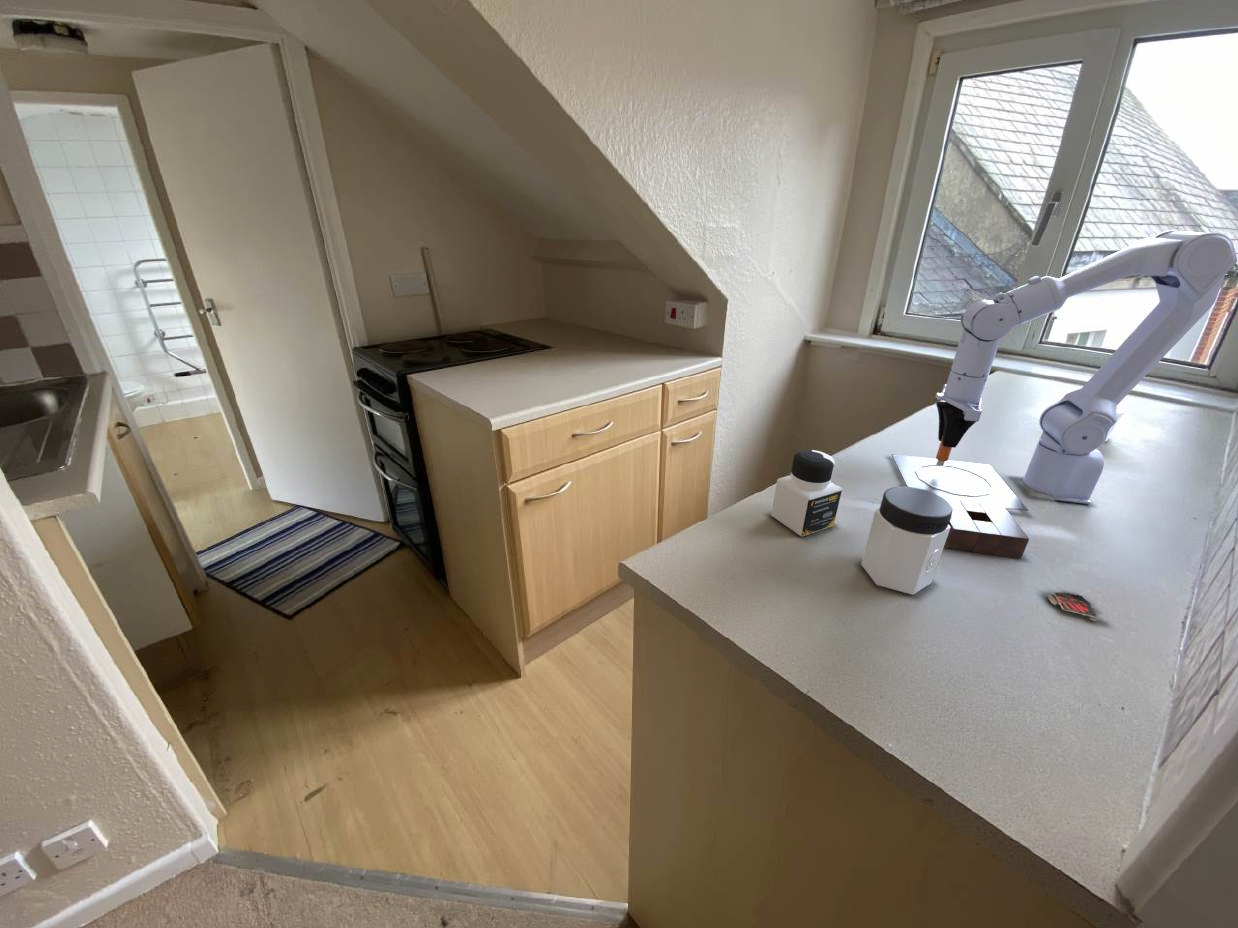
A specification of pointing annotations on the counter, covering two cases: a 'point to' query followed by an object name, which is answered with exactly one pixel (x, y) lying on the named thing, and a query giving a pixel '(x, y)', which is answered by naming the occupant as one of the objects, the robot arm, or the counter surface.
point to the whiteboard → (957, 480)
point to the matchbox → (1073, 604)
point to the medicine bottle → (807, 494)
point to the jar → (907, 539)
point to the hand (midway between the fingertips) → (946, 443)
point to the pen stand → (984, 529)
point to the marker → (942, 454)
